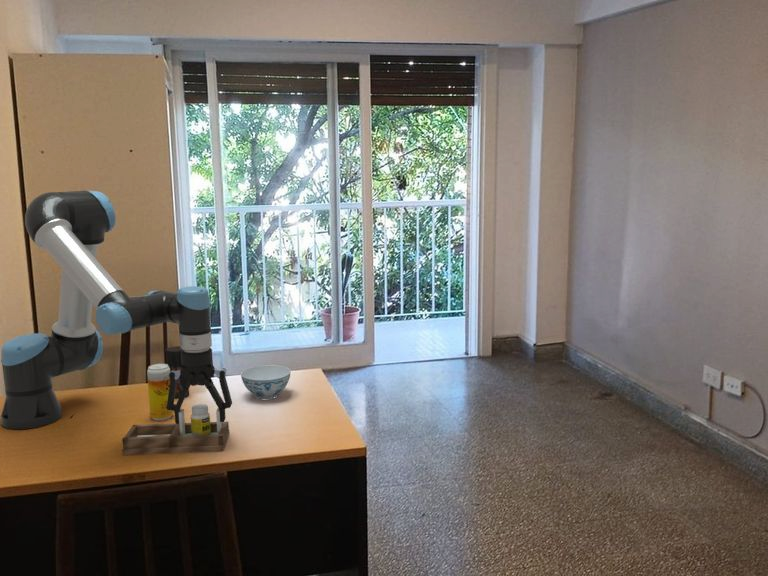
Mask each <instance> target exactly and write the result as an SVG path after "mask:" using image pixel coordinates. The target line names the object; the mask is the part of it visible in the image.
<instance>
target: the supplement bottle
mask: <svg viewBox="0 0 768 576" xmlns="http://www.w3.org/2000/svg"><path fill="white" fill-rule="evenodd" d="M210 422H211V414H210V412H209V406H208V405H207V404H205V403H200V404H199V403H198V404H194V405H192V407H191V415H190V423H191V434H192V435H207V434H211V431H210Z"/></svg>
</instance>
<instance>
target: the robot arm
mask: <svg viewBox="0 0 768 576" xmlns="http://www.w3.org/2000/svg"><path fill="white" fill-rule="evenodd" d="M24 224H25V228H26V231H27V234H28V236H29V237H30V239H31V240H32V241H33V243H35V245H36V246H37V247H38V248H40V249H42V250H46V251H47V253H48V254H49V255H50V256H51V257H52V258H53V259H54V261H55V262H56V263H57V264H58V265H59V267H61V277H60V278H61V280H60V291H59V294H60V295H59V305H58V306H59V307H58V319H57V321H56V322H54V323H53V325H52V326H51V333H50V334H51V335H49V336H47V334H45V333H37V332H35V333H29V334H24V335H19V336H17V337H13V338H11V339H10V340H8V341H6V342H5V343H4V345H2V347H1V348H0V349H1V350H0V351H1V353H0V354H1V355H0V357H1V359H0V360H1V365H2V366H1V367H2V375H3V382H4V390H5V391H4V392H5V399H4V403H3V407H2V410H1V414H0V419H1V420H0V421H1V426H2V427H3V428H6V429H11V430H26V429H33V428H39V427H42V426H47V425H49V424H52V423H54V422H56V421H58V420H60V419H61V418H62V416H63V410H62V408H63V407H62V405H61V403H60V401H59V400H58V397H57V395H56V394H55V391H54V388H53V378H55V377H59V376H63V375H67V374H69V373H73V372H76V371H83V370H85V369H87V368H90V367H92V366H95V365H96V364H98V362H99V361H100V359H101V357H102V355H103V351H104V341H103V340H102V336H101V333H100V332H99V331H101V332H102V333H103V334H104V335H108V336H112V335H118V334H125V333H129V332H131V331H135V330H137V329H138V330H139V329H143V328H146V327H150V326H154V325H159V324H163V323H173V324H178V327H179V342H180V343H179V344H180V345H179V346H181V349H183V350H182V351H181V361H182V368H181V370H177V371H175V370H172V371H171V372H170V374H169V377H170V388H169V394H168V401H167V407H166V408H167V410H173V414H174V423H176V424H179V426H180V435H185V423H186V422H185V421H186V420H185V408H182V406H183V404H184V401H185V399H186V398H187V397H186V394H187V392H188V390H189V391H190V388H191V386H192V387H196V386H205V389H206V390H207V391H208V392H209V394H210V396H211V397H212V399H213V402H214V403H215V405H216V406H217V409H216V411H215V415H216V422H217V434H219V432H220V430H221V427H222V422H226V418H227V416H226V409H231V407H232V405H233V399H232V396H231V392H230V389H229V386H228V382H227V378H226V375H227V374H226V373H227V369H226V368H221V369H220V368H215V366H214V362H213V349H212V348H211V347H212V346H213V343H212V341H213V340H212V329H211V328H212V327H211V323H212V322H211V301H210V294H209V290H208V289H207V288H206V287H205V286H199V285H198V286H195V285H193V286H192V285H191V286H184V287H180V288H179V289H178V290H177V292H172V291H166V290H151V291H149V292H148V293H146V294H145V295H143V296H138V297H130V296H129V295H128V294H127V293H126V291H125V290H124V289H122V287H121V286H120V285H119V284H118V283H117V282H116V281H115V279H114V278H113V277H112V276H111V274H109V272H108V271H107V270H106V269H105V268H104V267H103V266H102V264H101V263H100V262H99V261H98V260H97V257H98V247H100V246H101V245H102V244H104V242H105V234H106V233H109V232H111V231H112V230H113V228H114V227H115V225H116V212H115V208H114V206H113V203H112V202H111V200H110V198H108V196H107V195H105V193H103V192H101V191H97V190H87V189H85V190H75V191H74V190H73V191H71V190H70V191H50V192H44V193H42V194H39V195H38V196H35V198H33V199H32V200H31V202H30V203H29V205H28V206H27V208H26V211H25V214H24ZM93 306H94V308H95V309H96V310H95V314H94V317H95V318H94V319H95V323H97V328H98V329H99V331H98V330H97V328H96V326H95V325H94V324H93V323H92V313H93ZM179 375H182V377H183V378H184V379H185V380H186V383H185V385H184V388H183V390H182V392H181V395H180V397H179V399H177V401H176V404H175V399H174V398H175V392H176V386H177V379H178V378H179ZM214 375H215V376H216V378H217V379H219V385H220V389H221V393H222V396H223V398H222V396H221V395H220V393H219V391H218V389H217V388H216V385H215V384H214V382H213V379H212V378H213V376H214ZM185 397H186V398H185Z"/></svg>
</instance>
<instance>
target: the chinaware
mask: <svg viewBox="0 0 768 576" xmlns="http://www.w3.org/2000/svg"><path fill="white" fill-rule="evenodd" d="M240 377H241V380H242V384H243V385H244V387H245V388H246V389H247V391H248V392H250V393H251V394H253V395H254V396H255V399H257V398H259V399H258V400H260V399H270V400H272V399H271V398H274V397H276V396H277V395H278V396H279V394H280V393H281V392H282V391H283V390H284V389H285V388H286V386H288V383H289V382H290V378H291V369H290V368H289V367H287V366H282V365H277V364H265V365H263V364H262V365H256V366H252V367H248V368H246V369H244V370H242V371H241V373H240ZM278 396H277V397H278ZM277 397H276V398H277ZM274 399H275V398H274Z"/></svg>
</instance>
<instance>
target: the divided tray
mask: <svg viewBox="0 0 768 576" xmlns="http://www.w3.org/2000/svg"><path fill="white" fill-rule="evenodd" d="M229 428H230V427H229V421H224V422H222V427H221V430H220V432H219V434H217V421H210V431H211V434H207V435H192V434H191V422H185V435H180V426H179V424H176V423H175V422H174V423H152V424H151V423H150V424H149V423H146V424H133V425H132V426H130V428H129V430H127V432H126V434H125V435H124V437H123V438H122V450H121V451H122V452H121V453H122V456H129V455H130V454H131V456H132V454H135V455H155V454H156V455H157V454H158V453H161V454H181V453H182V454H183V453H184V454H185V453H204V452H205V453H206V452H207V453H210V452H224V450H225V447H226V444H227V441H228V438H229V436H230V429H229Z"/></svg>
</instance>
